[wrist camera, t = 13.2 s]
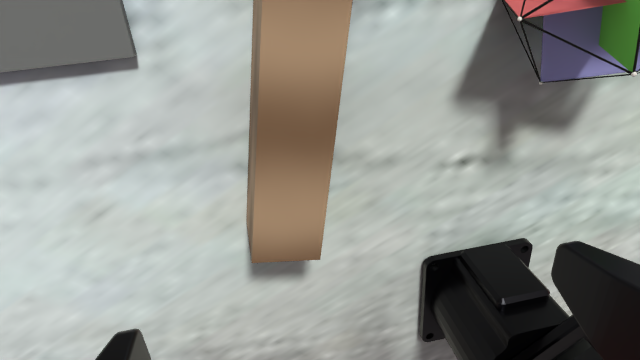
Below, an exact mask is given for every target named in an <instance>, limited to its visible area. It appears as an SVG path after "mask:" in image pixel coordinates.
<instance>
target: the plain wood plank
mask: <svg viewBox="0 0 640 360" xmlns="http://www.w3.org/2000/svg"><path fill="white" fill-rule="evenodd" d="M352 1H353V0H253V31H252V63H251V95H250V127H249V159H248V190H247V229H248V237H249V245H250V253H251V260H252V263H262V262H282V261H301V260H320V256H321V248H322V240H323V232H324V224H325V216H326V208H327V200H328V192H329V184H330V176H331V168H332V160H333V152H334V144H335V136H336V128H337V120H338V112H339V104H340V96H341V88H342V80H343V72H344V64H345V56H346V48H347V40H348V32H349V24H350V16H351V8H352Z"/></svg>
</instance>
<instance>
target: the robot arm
mask: <svg viewBox="0 0 640 360" xmlns="http://www.w3.org/2000/svg"><path fill="white" fill-rule="evenodd" d="M531 252H532V244H531V243H530V242H529V241H528V240H527V239H525V238H521V239H516V240H511V241H506V242H501V243H496V244H490V245H485V246H480V247H475V248H470V249H465V250H460V251H455V252H449V253H444V254H439V255H434V256H430V257H428V258H427V259H426V260H425V261H424V264H423V281H422V299H421V318H420V336H421V338H422V340H423V341H425V342H431V341H435V340H440V339H444V338H446V340H447V342H448V343H449V345H450V347H451V348H452V350H453V352H454V354H455V355H456V357H457V359H458V360H640V264H637V263H634V262H632V261H629V260H627V259H624V258H621V257H619V256H616V255H614V254H611V253H608V252H606V251H603V250H601V249H598V248H596V247H593V246H590V245H588V244H585V243H583V242H580V241H573V242H568V243H563V244H560V245H559V246H558V247H557V250H556V254H555V258H554V263H553V267H552V272H551V276H552V280H553V282H554V284H555V286H556V288H557V289H558V291H559V292H560V294H561V296H562V297H563V299H564V301H565V302H566V304H567V305H568V307H569V309H570V310H571V312H572V314H573V315H571V316H570V317H569V316H568V314H567V313H566V312H565V311H564V310H563V309H562V308H561V307H560V306H559V305H558V304H557V303H556V301H555V300H554V299H553V298H552V297H551V296H550V291H549V290H548V289H547V287H546V286H545V285H544V284H543V283H542V282H541V281H540V280H539V279H538V278H537V277H536V276H535V275H534V274H533V273H532V271H531V270H530V269H529V268H528V267H529V262H530V257H531ZM433 264H435V265H434V266H432V265H433ZM95 360H151V357H150V354H149V352H148V349H147V346H146V343H145V341H144V338H143V335H142V333H141V331H140V330H139V329H131V330H126V331H121V332H118V333H116V334H115V335H114V336H113V337H112V339H111V340H110V341H109V342H108V344H107V345H106V346H105V348H104V349H103V350H102V351H101V353H100V354H99V355H98V356H97V358H96V359H95Z"/></svg>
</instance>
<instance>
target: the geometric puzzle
mask: <svg viewBox="0 0 640 360" xmlns="http://www.w3.org/2000/svg"><path fill="white" fill-rule="evenodd" d="M503 1H504V2H505V3H506V4H507V6H508V7H509V8H510V9H511V11H512V12H513V13H514V14H515V15H516V17H517V21H520V24H521V27H522V30H523V33H524V36H525V39H526V42H527V45H528V48H529V51H530V54H531V57H532V60H533V63H534V66H535V68H534V66H533V64H532V62H531V60H530V57H529V55H528V53H527V51H526V49H525V47H524V45H523V42H522V40H521V38H520V36H519V34H518V32H517V29H516V27H515V25H514V23H513V21H512V19H511V17H510V14H509V12H508V10H507V8H506V6H505V4H504V2H503ZM502 2H503V4H504V6H505V8H506V10H507V12H508V15H509V17H510V19H511V21H512V23H513V25H514V28H515V30H516V32H517V34H518V36H519V38H520V40H521V43H522V45H523V47H524V49H525V51H526V53H527V55H528V58H529V60H530V62H531V64H532V66H533V68H534V70H535V69H536V70H535V73H536V75H537V77H538V79H539V81H540V82H539V84H540V85H542V84H543V83H546V82H558V81H569V80H568V79H570V80H580V79H576V78H581V79H592V78H603V77H614V76H626V75H631V76H633V77H634V76H636V75H637V74H638V73H637V72H638V71H639V70H640V0H502ZM537 16H543V29H542V28H540V27H537V26H535V25H533V24H531V23H529V22H527V21H525V20H523V19H525V18H531V17H537ZM521 21H522V22H524V23H526V24H528V25H530V26H532V27H534V28H536V29H538V30H540V31H542V32H543V37H542V59H541V80H540V77H539V74H538V71H537V68H536V64H535V61H534V58H533V55H532V52H531V49H530V46H529V43H528V40H527V37H526V34H525V31H524V28H523V25H522V22H521ZM635 71H636V72H635ZM623 72H627V73H629V74H625V75H614V76H603V77H592V78H584V77H591V76H599V75H607V74H615V73H623ZM639 73H640V72H639Z"/></svg>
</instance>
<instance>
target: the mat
mask: <svg viewBox="0 0 640 360" xmlns="http://www.w3.org/2000/svg"><path fill="white" fill-rule="evenodd" d="M135 55H136V50H135V46H134V43H133V39H132V35H131V31H130V28H129V24H128V20H127V16H126V13H125V9H124V5H123V1H122V0H0V73H1V72H10V71H18V70H27V69H36V68H44V67H53V66H61V65H70V64H78V63H87V62H96V61H104V60H113V59H121V58H130V57H135Z"/></svg>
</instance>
